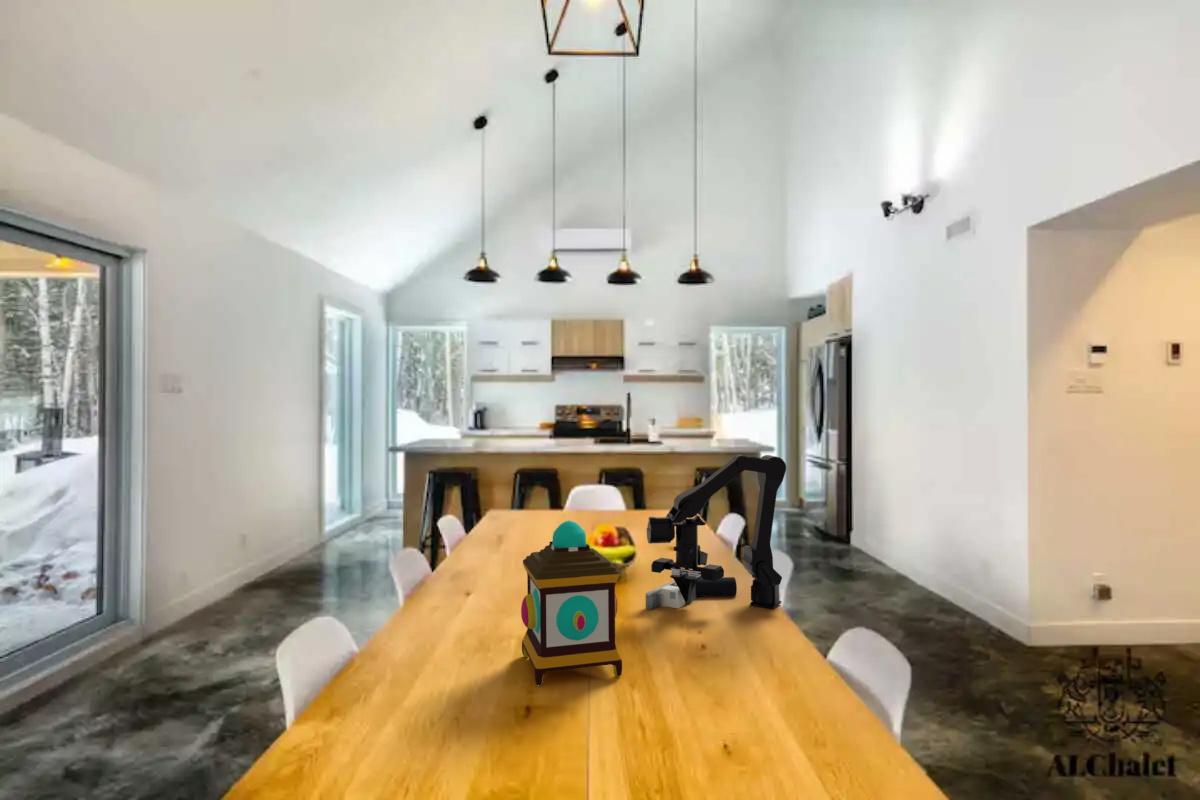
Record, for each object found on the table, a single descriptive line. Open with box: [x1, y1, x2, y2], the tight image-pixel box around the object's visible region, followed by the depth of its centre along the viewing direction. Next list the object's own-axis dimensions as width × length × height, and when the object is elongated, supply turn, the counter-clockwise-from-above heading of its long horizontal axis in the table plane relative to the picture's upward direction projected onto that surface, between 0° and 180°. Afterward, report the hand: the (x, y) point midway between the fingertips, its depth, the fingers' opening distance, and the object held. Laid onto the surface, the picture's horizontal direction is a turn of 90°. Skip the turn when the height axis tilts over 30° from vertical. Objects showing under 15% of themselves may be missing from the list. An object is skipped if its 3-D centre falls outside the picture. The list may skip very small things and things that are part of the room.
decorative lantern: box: [520, 520, 623, 687], centre depth 142 cm, size 20×20×30 cm
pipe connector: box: [695, 576, 738, 597], centre depth 197 cm, size 12×5×15 cm
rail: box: [645, 581, 676, 611], centre depth 186 cm, size 3×14×4 cm, turn 146°
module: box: [661, 585, 686, 609], centre depth 184 cm, size 5×4×4 cm
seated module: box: [673, 583, 697, 604], centre depth 189 cm, size 5×4×4 cm
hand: (687, 601), depth 182 cm, fingers closed
